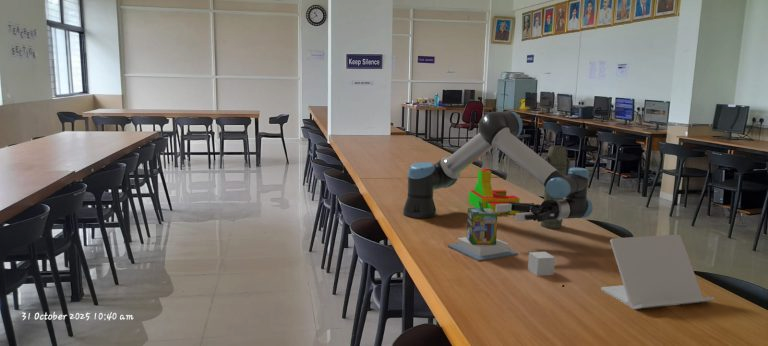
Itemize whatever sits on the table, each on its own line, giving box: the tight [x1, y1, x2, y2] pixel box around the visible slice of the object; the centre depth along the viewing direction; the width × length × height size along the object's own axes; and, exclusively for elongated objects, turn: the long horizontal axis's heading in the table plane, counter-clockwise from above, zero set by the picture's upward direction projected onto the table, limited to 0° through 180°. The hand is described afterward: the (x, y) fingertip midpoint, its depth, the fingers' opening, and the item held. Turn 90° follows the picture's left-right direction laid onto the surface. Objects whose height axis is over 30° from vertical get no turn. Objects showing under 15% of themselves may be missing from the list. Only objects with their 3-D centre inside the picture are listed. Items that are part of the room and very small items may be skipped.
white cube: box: [527, 251, 556, 277], centre depth 179 cm, size 6×6×6 cm
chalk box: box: [466, 201, 498, 244], centre depth 198 cm, size 9×9×15 cm
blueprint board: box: [447, 243, 519, 262], centre depth 200 cm, size 18×18×1 cm
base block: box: [456, 236, 509, 256], centre depth 200 cm, size 13×13×3 cm
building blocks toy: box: [468, 168, 520, 216], centre depth 266 cm, size 19×25×18 cm
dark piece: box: [540, 144, 572, 230], centre depth 234 cm, size 9×12×35 cm
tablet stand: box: [600, 234, 715, 310], centre depth 160 cm, size 18×25×17 cm
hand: (505, 212), depth 201 cm, fingers open, 13 cm apart
